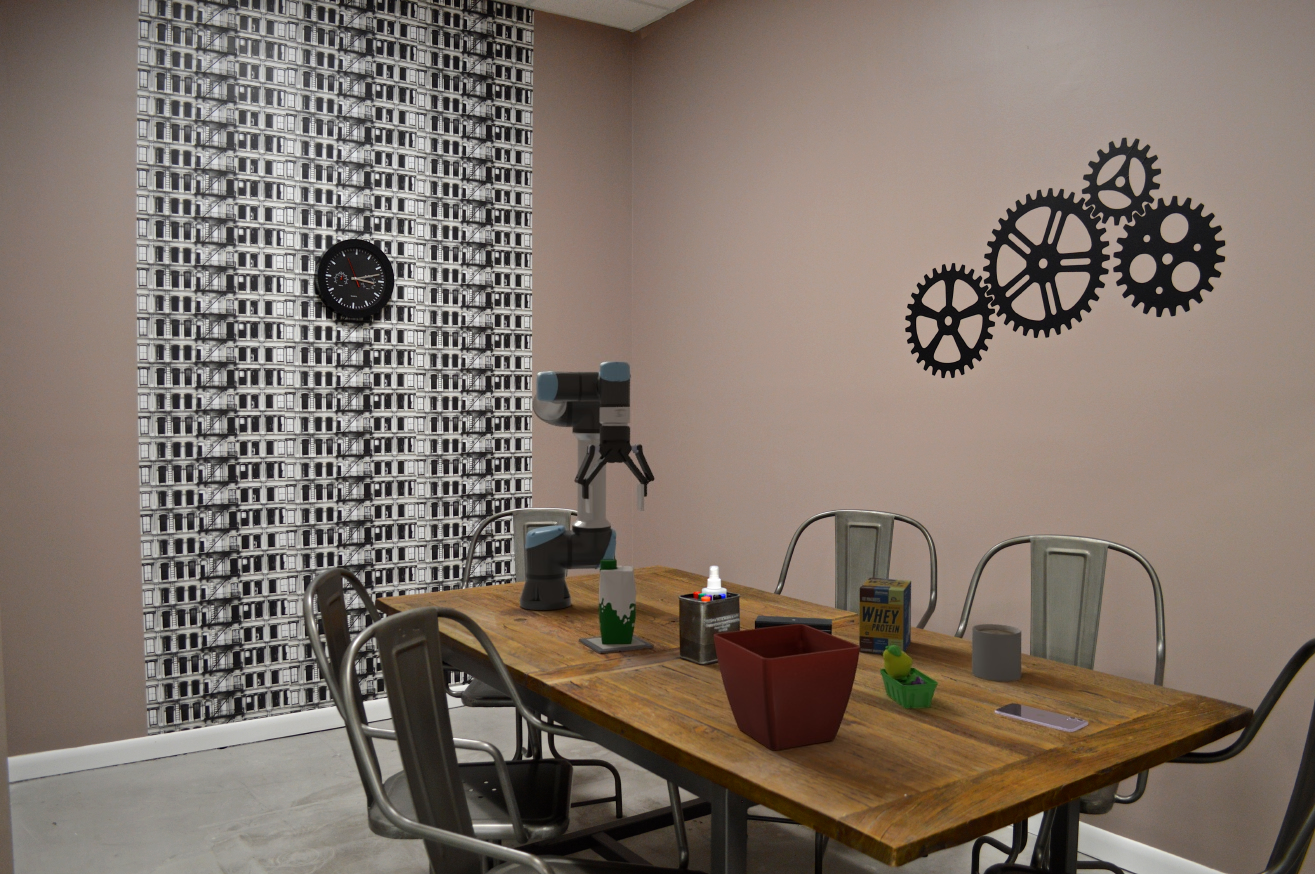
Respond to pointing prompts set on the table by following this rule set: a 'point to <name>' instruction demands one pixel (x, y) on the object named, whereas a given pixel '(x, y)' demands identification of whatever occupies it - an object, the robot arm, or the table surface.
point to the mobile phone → (1042, 717)
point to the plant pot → (787, 682)
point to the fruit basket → (906, 680)
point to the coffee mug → (996, 652)
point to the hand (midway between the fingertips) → (615, 511)
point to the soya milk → (616, 602)
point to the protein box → (884, 615)
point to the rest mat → (614, 645)
